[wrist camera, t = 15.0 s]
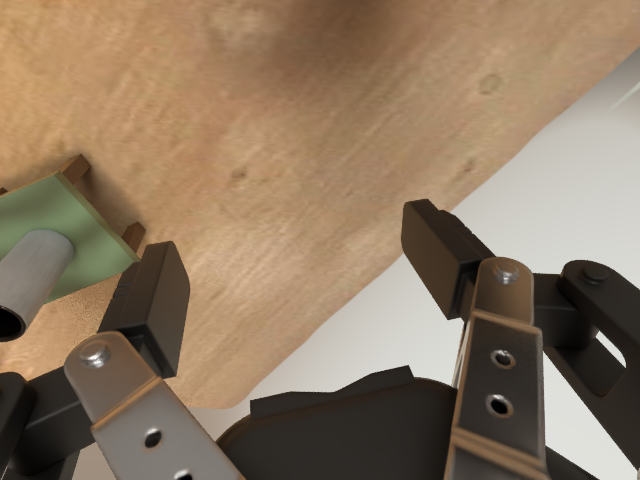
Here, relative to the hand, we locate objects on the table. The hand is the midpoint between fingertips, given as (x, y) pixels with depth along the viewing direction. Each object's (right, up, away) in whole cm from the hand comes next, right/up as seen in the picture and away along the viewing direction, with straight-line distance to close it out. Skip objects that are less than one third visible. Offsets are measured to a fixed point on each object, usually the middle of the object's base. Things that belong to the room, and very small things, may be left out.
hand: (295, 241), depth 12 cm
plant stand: (-28, +3, +28) cm, 40 cm away
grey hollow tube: (-27, -1, +23) cm, 35 cm away
